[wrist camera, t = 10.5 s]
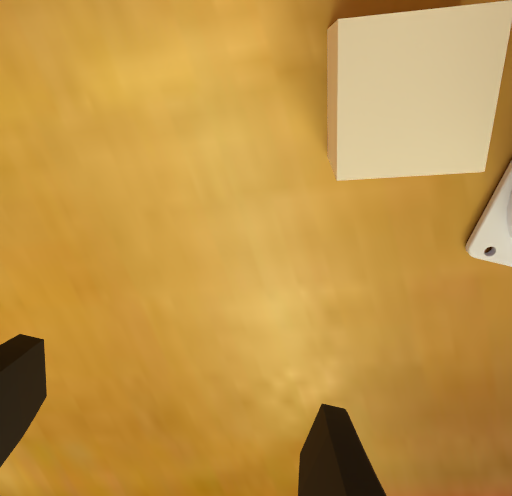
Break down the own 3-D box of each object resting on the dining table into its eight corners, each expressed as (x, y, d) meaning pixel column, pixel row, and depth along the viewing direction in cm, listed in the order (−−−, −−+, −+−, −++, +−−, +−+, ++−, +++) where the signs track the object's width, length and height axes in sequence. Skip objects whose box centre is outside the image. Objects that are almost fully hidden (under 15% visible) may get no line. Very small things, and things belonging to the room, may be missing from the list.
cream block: (459, 15, 14) (515, -1, 11) (442, 148, 16) (484, 171, 13) (326, 29, 15) (338, 19, 11) (327, 156, 17) (336, 180, 13)
